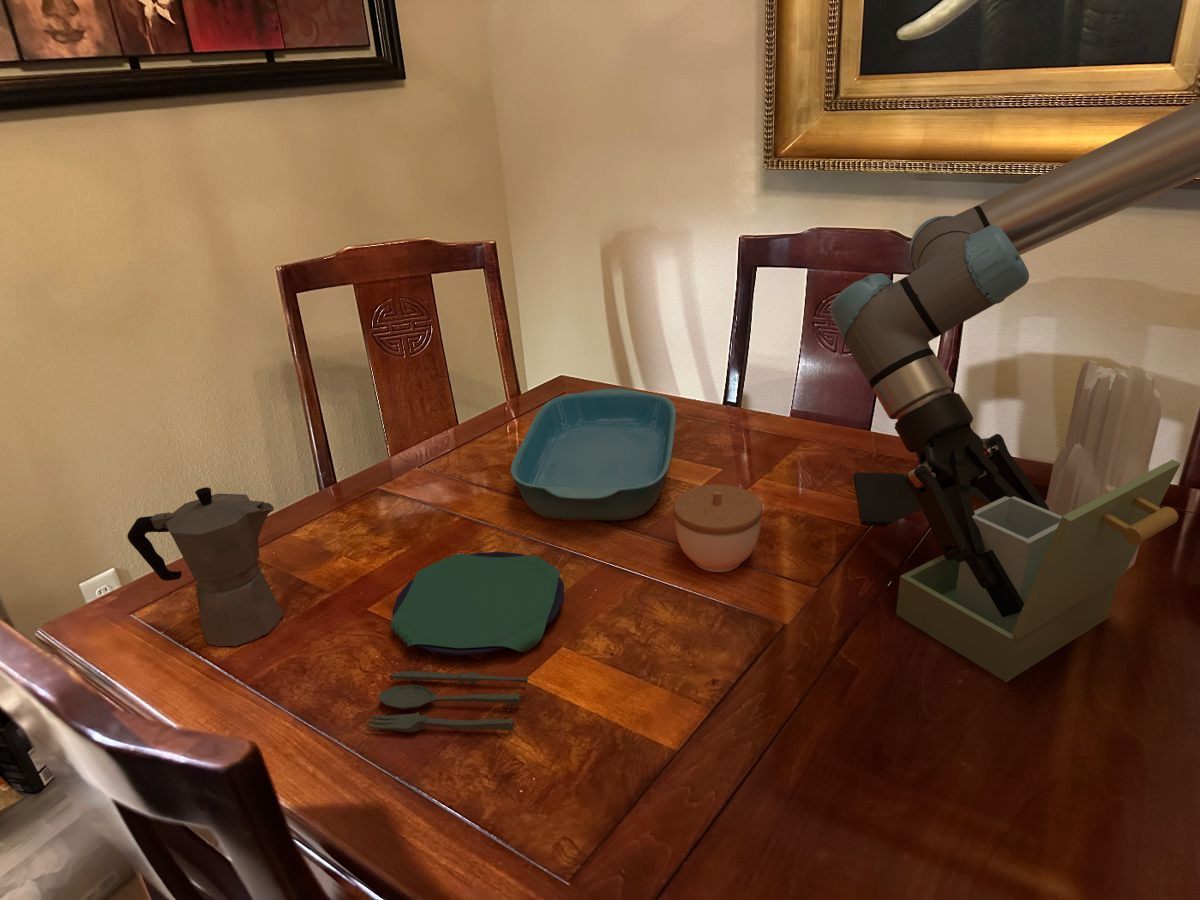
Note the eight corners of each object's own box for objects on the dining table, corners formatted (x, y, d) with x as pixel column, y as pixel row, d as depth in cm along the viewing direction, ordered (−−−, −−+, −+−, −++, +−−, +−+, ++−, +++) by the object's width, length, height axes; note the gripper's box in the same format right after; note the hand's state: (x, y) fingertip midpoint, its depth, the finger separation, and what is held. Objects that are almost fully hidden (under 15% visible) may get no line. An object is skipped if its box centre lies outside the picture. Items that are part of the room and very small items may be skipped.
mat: (985, 480, 119) (986, 476, 119) (1008, 531, 107) (1009, 527, 106) (853, 475, 123) (853, 472, 122) (861, 524, 110) (861, 520, 110)
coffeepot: (305, 591, 104) (271, 461, 96) (296, 638, 96) (258, 499, 88) (173, 613, 102) (128, 481, 94) (152, 662, 93) (101, 522, 86)
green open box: (895, 619, 92) (899, 575, 90) (995, 565, 100) (1002, 524, 98) (1005, 687, 82) (1013, 640, 79) (1108, 621, 90) (1118, 577, 87)
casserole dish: (667, 541, 109) (665, 493, 106) (500, 538, 113) (494, 491, 110) (680, 425, 142) (680, 386, 139) (551, 426, 146) (547, 387, 142)
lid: (1061, 516, 72) (1111, 545, 68) (1172, 459, 79) (1221, 483, 76) (1011, 633, 79) (1053, 664, 76) (1116, 571, 87) (1158, 597, 84)
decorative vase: (1039, 522, 108) (1074, 336, 97) (1136, 541, 103) (1184, 346, 92) (1028, 564, 100) (1066, 366, 89) (1133, 587, 95) (1186, 380, 84)
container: (952, 609, 92) (966, 514, 87) (993, 587, 95) (1009, 494, 90) (1011, 642, 86) (1029, 543, 81) (1052, 617, 89) (1072, 520, 84)
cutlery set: (577, 565, 106) (576, 549, 105) (532, 742, 79) (530, 724, 78) (425, 562, 108) (422, 547, 107) (331, 734, 82) (326, 716, 81)
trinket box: (778, 554, 105) (780, 488, 101) (727, 594, 98) (727, 524, 94) (708, 527, 112) (708, 464, 108) (657, 562, 105) (654, 496, 101)
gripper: (959, 399, 100) (1067, 576, 94) (838, 445, 91) (949, 643, 85) (1006, 368, 93) (1124, 556, 87) (881, 415, 84) (1003, 627, 78)
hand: (1038, 599), depth 86 cm, fingers closed on container, 7 cm apart
